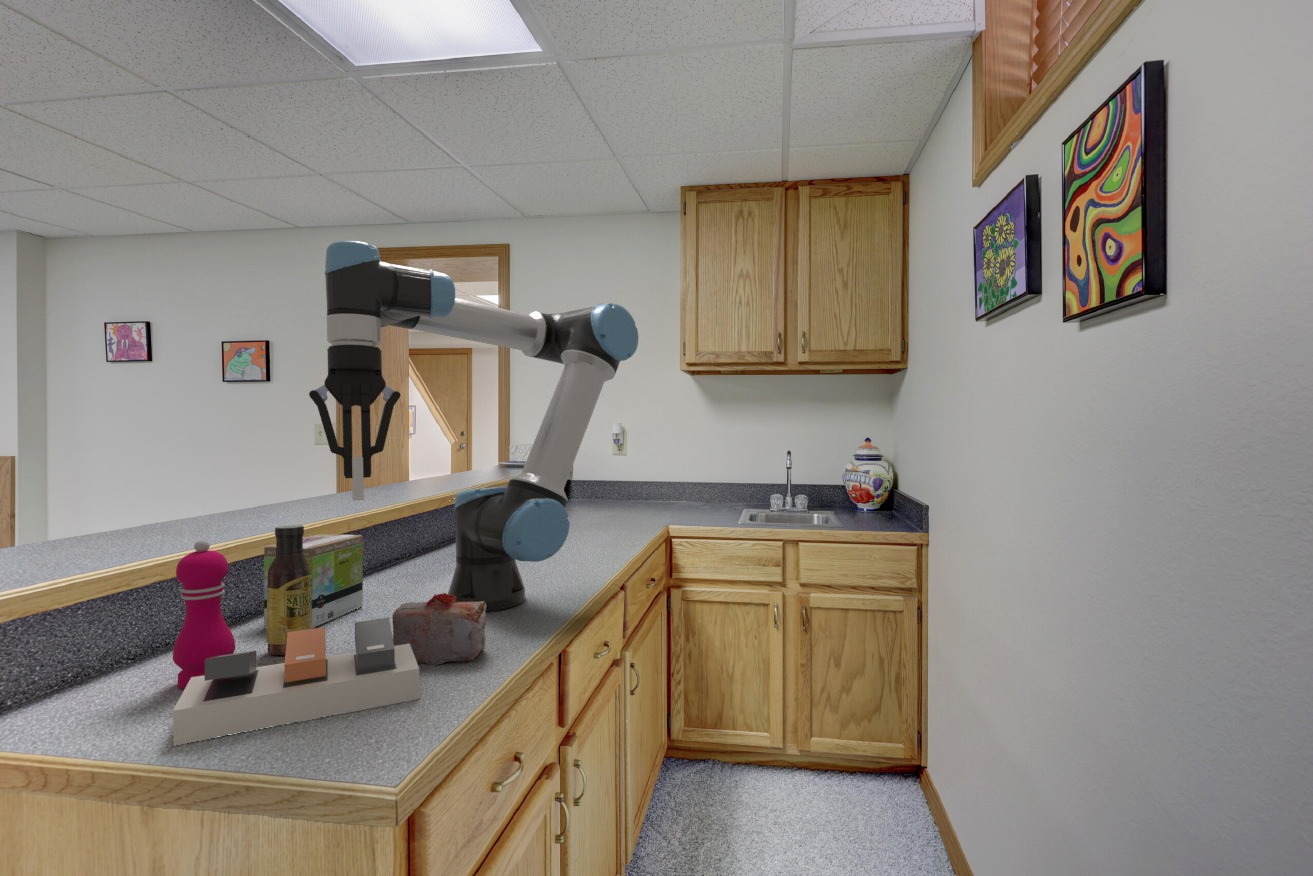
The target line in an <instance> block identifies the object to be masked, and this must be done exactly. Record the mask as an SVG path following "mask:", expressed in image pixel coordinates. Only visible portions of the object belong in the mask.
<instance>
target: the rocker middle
mask: <svg viewBox="0 0 1313 876" xmlns="http://www.w3.org/2000/svg"><path fill="white" fill-rule="evenodd" d="M326 644H327V643H326V626H323V627H322V626H321V627H317V628H316V627H315V628H313V629H308V630H300V631H293V632H288V634H287V644H286V654H285V655H284V663H285V664H284V668H285V683H286V682H292V681H298V680H304V679H310V678H316V677H322V676H326V656H327V655H326V654H327V652H326Z"/></svg>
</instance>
